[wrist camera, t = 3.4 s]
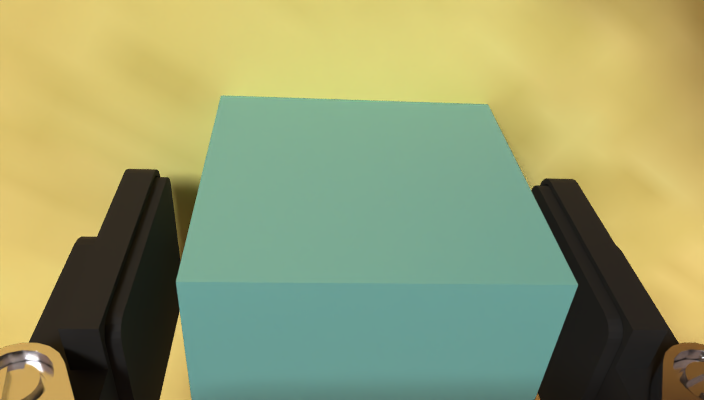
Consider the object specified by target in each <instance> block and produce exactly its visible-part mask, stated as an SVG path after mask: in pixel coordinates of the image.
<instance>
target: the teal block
mask: <svg viewBox="0 0 704 400" xmlns="http://www.w3.org/2000/svg"><path fill="white" fill-rule="evenodd" d="M176 287H177V294H178V301H179V309H180V316H181V324H182V331H183V339H184V346H185V354H186V361H187V369H188V376H189V383H190V391H191V398H192V400H535V398H536V395H537V392H538V390H539V387H540V385H541V382H542V379H543V377H544V374H545V371H546V369H547V366H548V363H549V361H550V358H551V356H552V353H553V350H554V348H555V345H556V342H557V340H558V337H559V334H560V332H561V329H562V327H563V324H564V321H565V319H566V316H567V313H568V311H569V308H570V305H571V303H572V300H573V298H574V295H575V292H576V290H577V287H578V283H577V281H576V279H575V277H574V275H573V273H572V271H571V269H570V267H569V265H568V263H567V261H566V259H565V257H564V255H563V254H562V252H561V250H560V248H559V246H558V244H557V242H556V240H555V238H554V236H553V234H552V232H551V230H550V228H549V226H548V224H547V222H546V220H545V218H544V216H543V214H542V212H541V210H540V208H539V206H538V204H537V202H536V200H535V198H534V196H533V194H532V192H531V190H530V188H529V186H528V184H527V182H526V180H525V178H524V176H523V174H522V172H521V170H520V168H519V166H518V164H517V162H516V160H515V158H514V156H513V154H512V152H511V150H510V148H509V146H508V144H507V142H506V140H505V138H504V136H503V134H502V132H501V130H500V128H499V126H498V124H497V122H496V120H495V118H494V116H493V114H492V112H491V110H490V108H489V106H488V104H459V103H429V102H399V101H368V100H338V99H308V98H277V97H247V96H221V98H220V102H219V106H218V110H217V115H216V119H215V123H214V127H213V131H212V135H211V139H210V143H209V147H208V152H207V156H206V160H205V164H204V168H203V172H202V176H201V180H200V185H199V189H198V193H197V197H196V201H195V205H194V209H193V213H192V217H191V222H190V226H189V230H188V234H187V238H186V242H185V246H184V250H183V255H182V259H181V263H180V267H179V271H178V275H177V279H176Z"/></svg>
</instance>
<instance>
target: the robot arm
mask: <svg viewBox="0 0 704 400" xmlns="http://www.w3.org/2000/svg"><path fill="white" fill-rule="evenodd" d="M531 192H532V194H533V196H534V198H535V200H536V202H537V204H538V206H539V208H540V210H541V212H542V214H543V216H544V218H545V220H546V222H547V224H548V226H549V228H550V230H551V232H552V234H553V236H554V238H555V240H556V242H557V244H558V246H559V248H560V250H561V252H562V254H563V255H564V257H565V259H566V261H567V263H568V265H569V267H570V269H571V271H572V273H573V275H574V277H575V279H576V281H577V283H578V287H577V290H576V292H575V295H574V298H573V300H572V303H571V305H570V308H569V311H568V313H567V316H566V319H565V321H564V324H563V327H562V329H561V332H560V334H559V337H558V340H557V342H556V345H555V348H554V350H553V353H552V356H551V358H550V361H549V363H548V366H547V369H546V371H545V374H544V377H543V379H542V382H541V385H540V387H539V390H538V394H539V397H540V400H704V345H703V344H699V343H680V344H679V343H678V341H677V340H676V338H675V337H674V335H673V333H672V332H671V330H670V328H669V327H668V325H667V324H666V322H665V320H664V319H663V317H662V316H661V314H660V312H659V311H658V309H657V307H656V306H655V304H654V303H653V301H652V299H651V298H650V296H649V295H648V293H647V291H646V290H645V288H644V287H643V285H642V283H641V282H640V280H639V278H638V277H637V275H636V274H635V272H634V270H633V269H632V267H631V266H630V264H629V262H628V261H627V259H626V258H625V256H624V254H623V253H622V251H621V250H620V249H619V248H618V247H617V246H616V245H615V243H614V242H613V240H612V238H611V237H610V235H609V233H608V232H607V230H606V229H605V227H604V225H603V224H602V222H601V221H600V219H599V217H598V216H597V214H596V212H595V211H594V209H593V208H592V206H591V204H590V203H589V201H588V199H587V198H586V196H585V195H584V193H583V191H582V190H581V188H580V186H579V185H578V183H577V182H576V181H575V180H573V179H544V180H543V181H542V183H541V185H540V186H534V187H533V188H532V191H531ZM180 263H181V262H180V254H179V246H178V238H177V230H176V222H175V214H174V206H173V198H172V190H171V183H170V179H169V178H168V177H160V174H159V171H158V170H151V169H127V170H126V171H125V172H124V175H123V177H122V179H121V182H120V184H119V186H118V189H117V191H116V194H115V196H114V198H113V201H112V203H111V205H110V208H109V210H108V212H107V215H106V217H105V219H104V222H103V224H102V226H101V229H100V231H99V233H98V236H97V237H80V238H79V239H78V240H77V241H76V243H75V244H74V246H73V248H72V251H71V253H70V255H69V257H68V259H67V261H66V264H65V266H64V268H63V270H62V272H61V274H60V276H59V279H58V281H57V283H56V285H55V287H54V289H53V292H52V294H51V296H50V298H49V300H48V302H47V304H46V307H45V309H44V311H43V313H42V315H41V317H40V320H39V322H38V324H37V326H36V328H35V330H34V332H33V335H32V337H31V339H30V341H29V343H19V344H14V345H9V346H5V347H3V348H0V400H159V399H160V395H161V390H162V386H163V382H164V377H165V373H166V368H167V364H168V359H169V355H170V350H171V346H172V342H173V337H174V333H175V328H176V324H177V319H178V315H179V310H180V309H179V301H178V294H177V287H176V279H177V275H178V271H179V267H180Z"/></svg>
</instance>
